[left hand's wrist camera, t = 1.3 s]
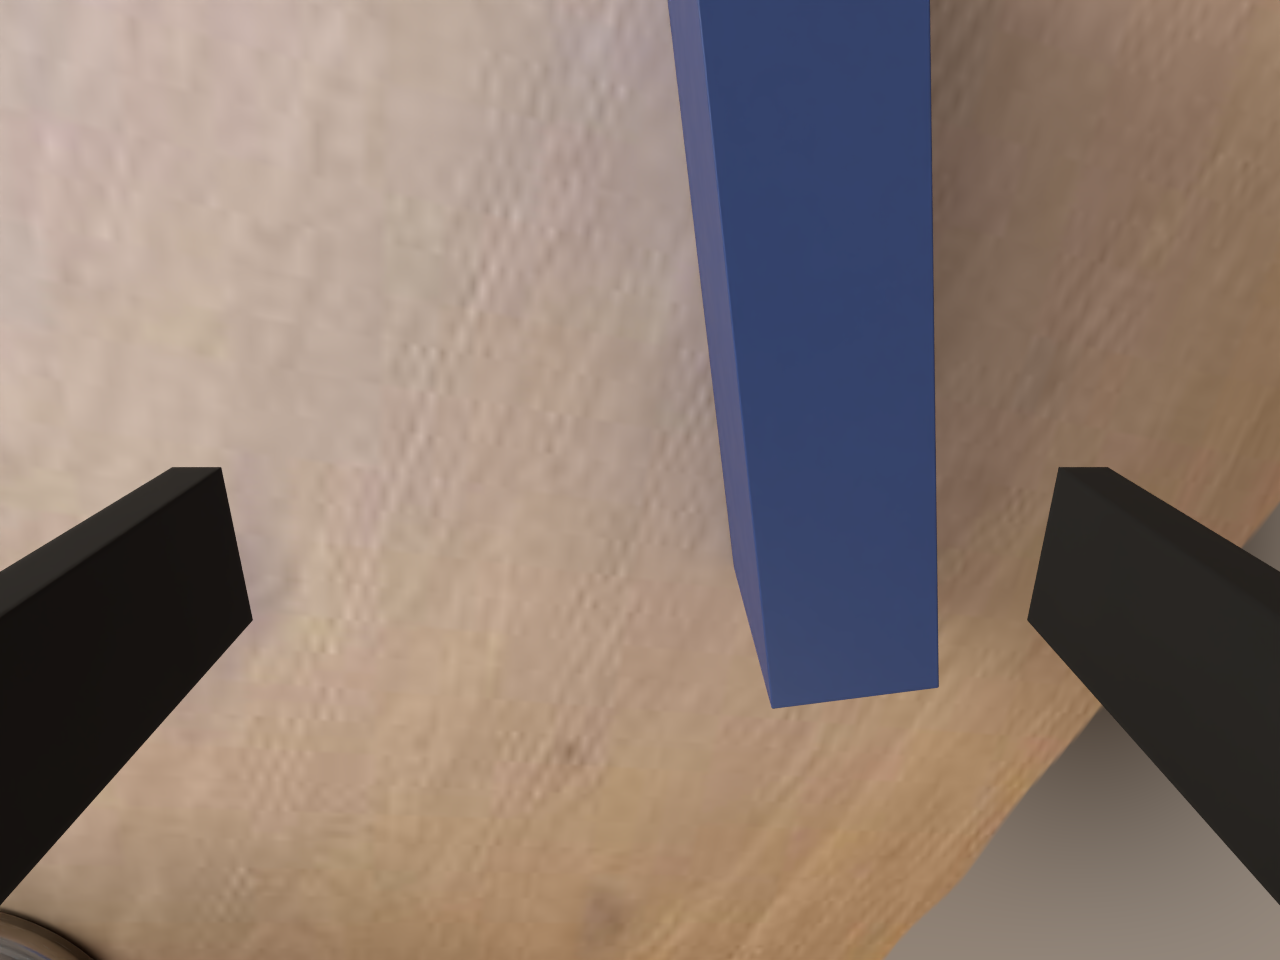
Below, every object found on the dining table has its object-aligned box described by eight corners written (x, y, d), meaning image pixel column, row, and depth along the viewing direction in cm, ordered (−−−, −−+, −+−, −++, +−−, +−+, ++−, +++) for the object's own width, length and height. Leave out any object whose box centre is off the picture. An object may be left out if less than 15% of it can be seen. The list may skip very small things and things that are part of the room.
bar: (855, 551, 32) (939, 688, 23) (734, 568, 32) (772, 709, 23) (819, -116, 24) (926, -291, 15) (657, -88, 24) (671, -244, 15)
